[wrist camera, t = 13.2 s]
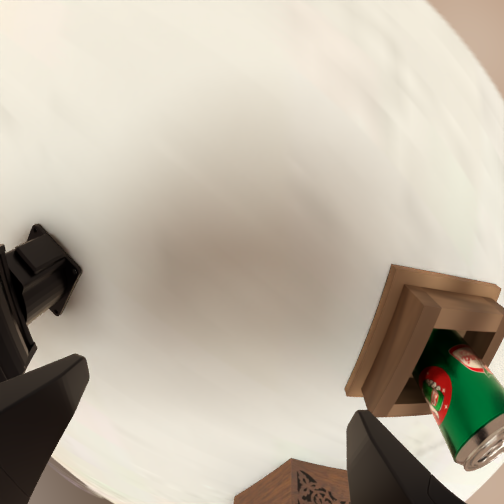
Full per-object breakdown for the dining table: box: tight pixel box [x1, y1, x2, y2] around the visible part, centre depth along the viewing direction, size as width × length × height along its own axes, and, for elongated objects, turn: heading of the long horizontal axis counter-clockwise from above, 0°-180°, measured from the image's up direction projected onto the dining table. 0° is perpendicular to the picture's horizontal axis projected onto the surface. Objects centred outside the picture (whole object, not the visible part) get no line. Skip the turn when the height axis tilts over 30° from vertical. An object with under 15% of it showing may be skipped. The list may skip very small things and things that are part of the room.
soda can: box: [412, 328, 504, 471], centre depth 15 cm, size 5×5×12 cm
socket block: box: [345, 264, 504, 417], centre depth 19 cm, size 12×12×4 cm
